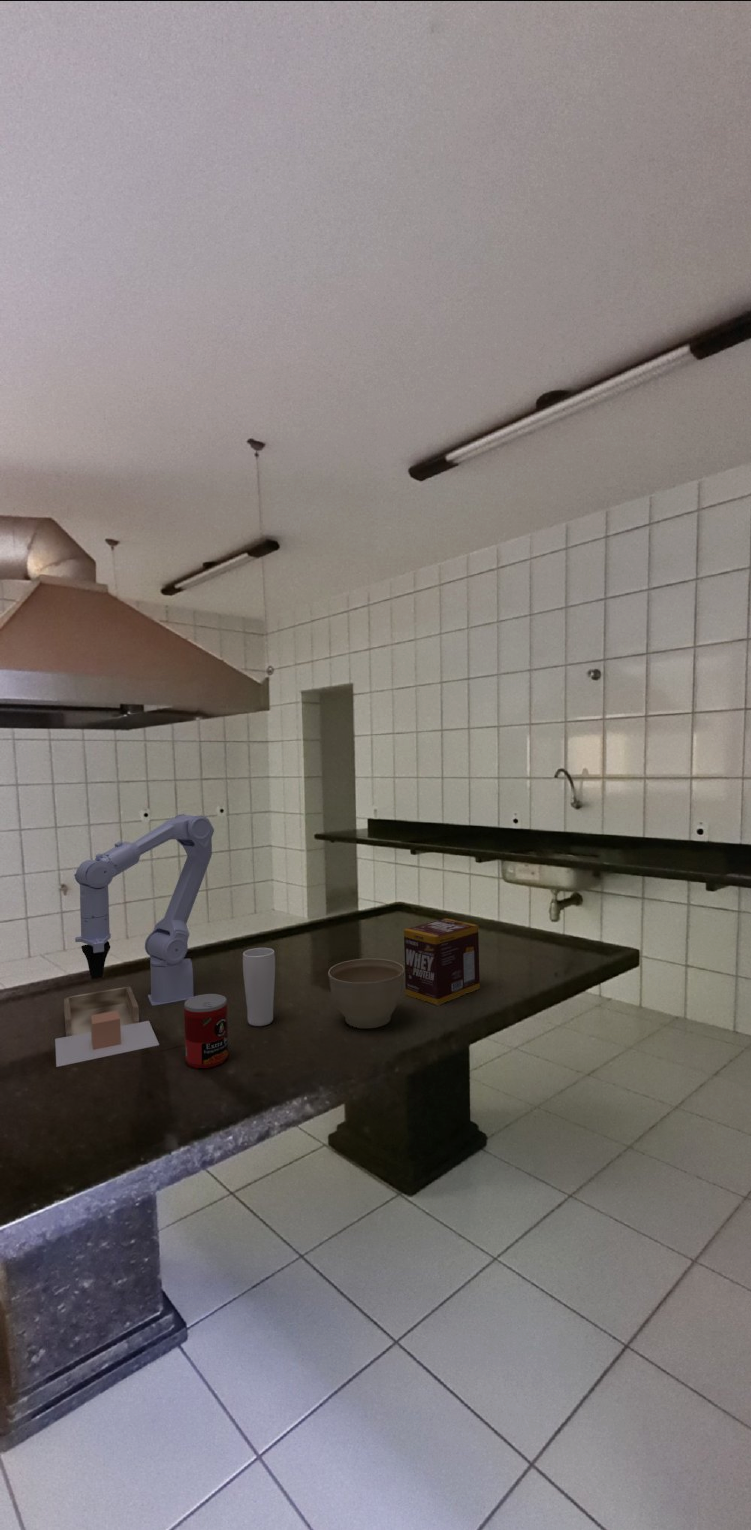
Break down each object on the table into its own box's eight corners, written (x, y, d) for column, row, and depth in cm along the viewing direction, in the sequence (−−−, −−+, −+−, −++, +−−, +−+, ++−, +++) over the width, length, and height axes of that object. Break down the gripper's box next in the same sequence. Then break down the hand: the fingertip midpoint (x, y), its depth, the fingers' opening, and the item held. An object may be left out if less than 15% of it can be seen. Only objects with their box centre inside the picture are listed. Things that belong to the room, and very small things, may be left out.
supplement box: (404, 995, 151) (402, 929, 151) (448, 979, 161) (446, 917, 161) (437, 1007, 143) (435, 937, 143) (480, 989, 154) (479, 924, 154)
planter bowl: (355, 1002, 147) (353, 954, 147) (418, 1014, 139) (417, 963, 139) (314, 1027, 133) (313, 975, 134) (382, 1042, 125) (380, 986, 125)
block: (118, 1035, 131) (117, 1010, 131) (120, 1044, 126) (120, 1018, 126) (91, 1040, 129) (90, 1015, 129) (93, 1050, 124) (92, 1024, 124)
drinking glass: (249, 1031, 132) (247, 958, 132) (240, 1020, 138) (238, 950, 139) (281, 1024, 136) (279, 953, 136) (270, 1014, 142) (269, 945, 142)
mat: (148, 1023, 138) (148, 1020, 138) (159, 1048, 126) (159, 1045, 126) (55, 1042, 130) (55, 1039, 130) (56, 1070, 117) (56, 1067, 117)
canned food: (206, 1073, 115) (205, 1011, 115) (176, 1063, 119) (174, 1004, 119) (237, 1056, 121) (235, 998, 121) (207, 1047, 125) (205, 991, 125)
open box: (130, 1003, 150) (130, 986, 150) (139, 1025, 137) (138, 1006, 137) (64, 1015, 144) (63, 997, 144) (66, 1039, 131) (65, 1020, 131)
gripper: (72, 911, 145) (74, 972, 145) (76, 924, 132) (78, 991, 132) (106, 907, 148) (108, 966, 148) (113, 920, 135) (115, 984, 135)
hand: (96, 977), depth 140 cm, fingers closed
